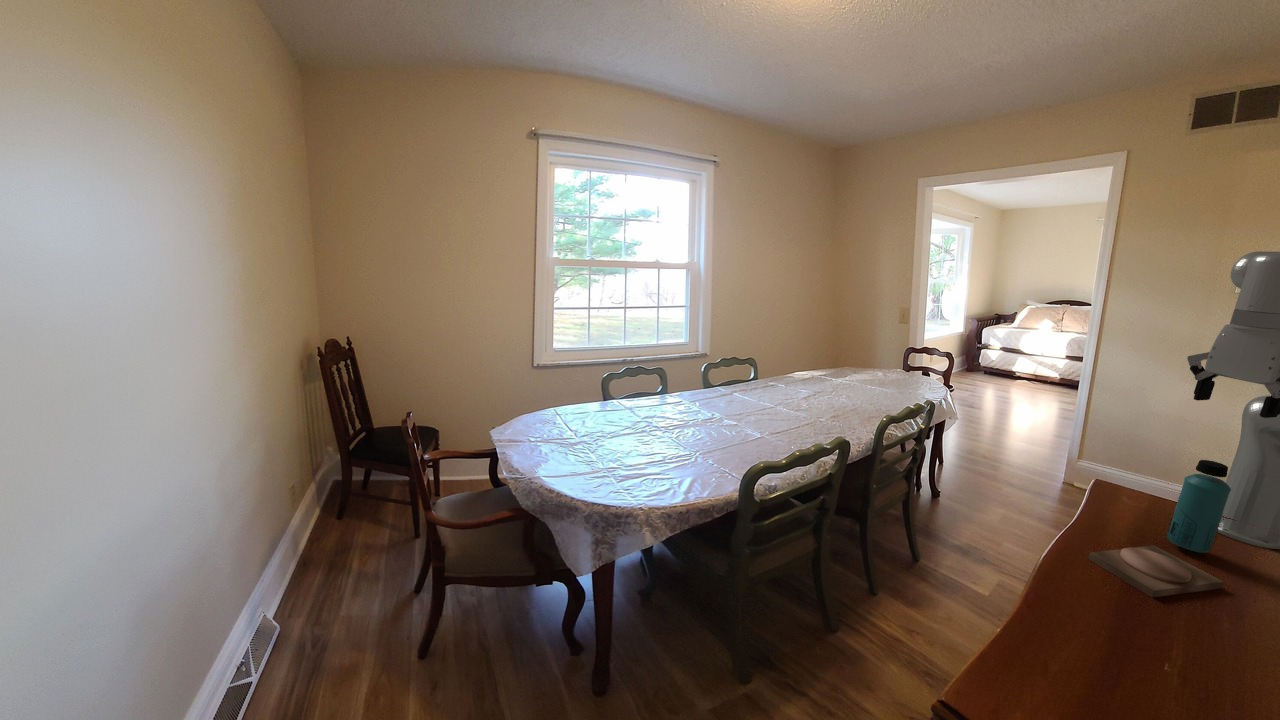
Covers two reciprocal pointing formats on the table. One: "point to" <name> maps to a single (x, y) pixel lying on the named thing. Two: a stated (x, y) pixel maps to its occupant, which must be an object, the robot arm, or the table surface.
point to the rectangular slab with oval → (1155, 571)
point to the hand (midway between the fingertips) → (1233, 408)
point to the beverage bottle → (1200, 508)
